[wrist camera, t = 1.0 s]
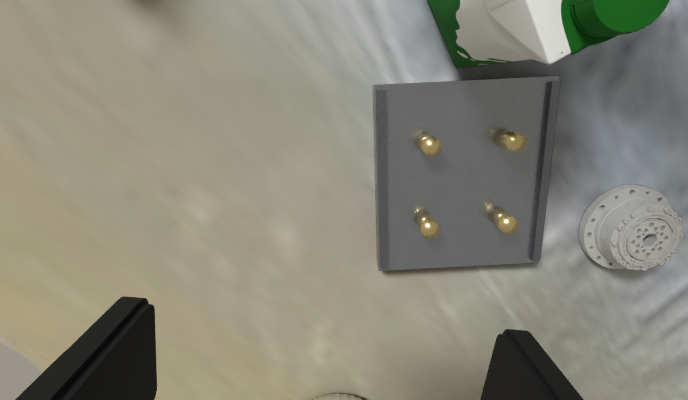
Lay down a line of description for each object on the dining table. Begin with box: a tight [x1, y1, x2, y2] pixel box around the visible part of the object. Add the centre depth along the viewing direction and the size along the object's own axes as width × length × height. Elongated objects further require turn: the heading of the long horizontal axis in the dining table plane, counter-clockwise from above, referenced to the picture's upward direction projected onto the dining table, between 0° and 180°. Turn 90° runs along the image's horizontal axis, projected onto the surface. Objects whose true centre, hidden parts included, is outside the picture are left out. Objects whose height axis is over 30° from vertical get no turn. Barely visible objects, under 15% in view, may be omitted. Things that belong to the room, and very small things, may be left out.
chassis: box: [373, 76, 561, 271], centre depth 39 cm, size 20×18×5 cm
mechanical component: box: [579, 184, 684, 271], centre depth 42 cm, size 10×4×10 cm
